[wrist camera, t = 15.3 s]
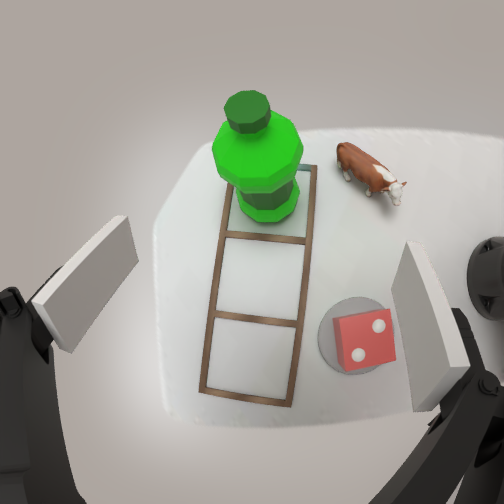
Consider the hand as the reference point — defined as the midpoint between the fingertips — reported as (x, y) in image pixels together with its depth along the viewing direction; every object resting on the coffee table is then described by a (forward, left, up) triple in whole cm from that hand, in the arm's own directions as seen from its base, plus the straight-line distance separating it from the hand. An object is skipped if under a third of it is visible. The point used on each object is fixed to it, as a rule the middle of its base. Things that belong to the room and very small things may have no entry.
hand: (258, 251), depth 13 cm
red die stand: (-12, +5, -34) cm, 36 cm away
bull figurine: (-12, -20, -34) cm, 41 cm away
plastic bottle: (+4, -15, -34) cm, 37 cm away
